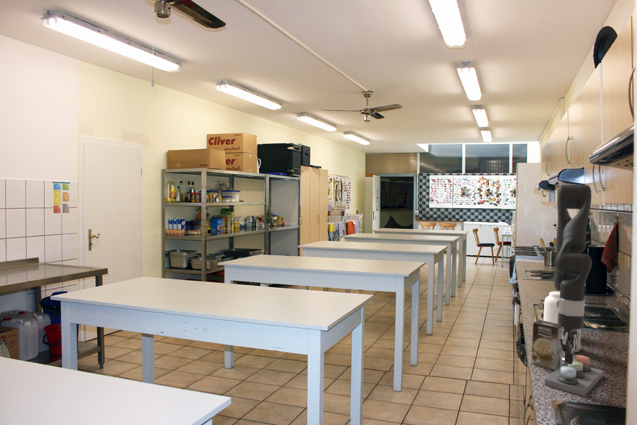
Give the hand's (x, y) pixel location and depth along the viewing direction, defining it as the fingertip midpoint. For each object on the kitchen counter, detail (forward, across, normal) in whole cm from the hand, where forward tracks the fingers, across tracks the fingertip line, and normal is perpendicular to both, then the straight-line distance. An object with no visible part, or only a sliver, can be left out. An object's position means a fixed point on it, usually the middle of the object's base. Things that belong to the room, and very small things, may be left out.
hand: (568, 363), depth 151 cm
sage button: (+4, -8, 0) cm, 9 cm away
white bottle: (+8, -61, -21) cm, 65 cm away
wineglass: (+8, -29, -8) cm, 31 cm away
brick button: (+4, -16, 0) cm, 17 cm away
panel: (+8, -8, 0) cm, 11 cm away
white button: (+4, 0, 0) cm, 4 cm away
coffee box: (+8, -16, -12) cm, 22 cm away
